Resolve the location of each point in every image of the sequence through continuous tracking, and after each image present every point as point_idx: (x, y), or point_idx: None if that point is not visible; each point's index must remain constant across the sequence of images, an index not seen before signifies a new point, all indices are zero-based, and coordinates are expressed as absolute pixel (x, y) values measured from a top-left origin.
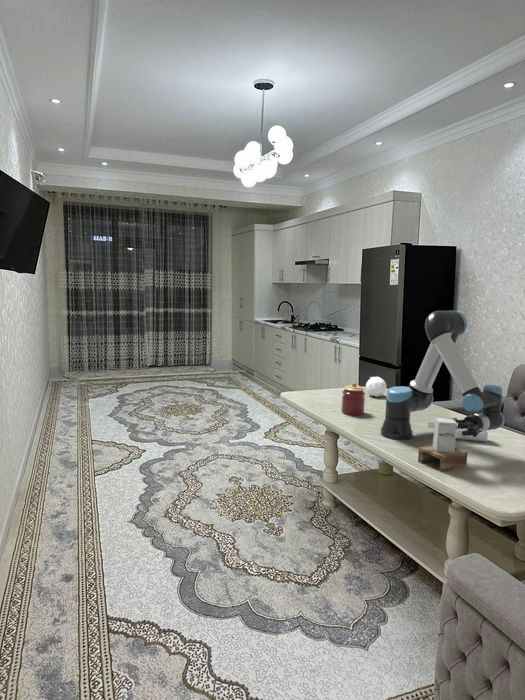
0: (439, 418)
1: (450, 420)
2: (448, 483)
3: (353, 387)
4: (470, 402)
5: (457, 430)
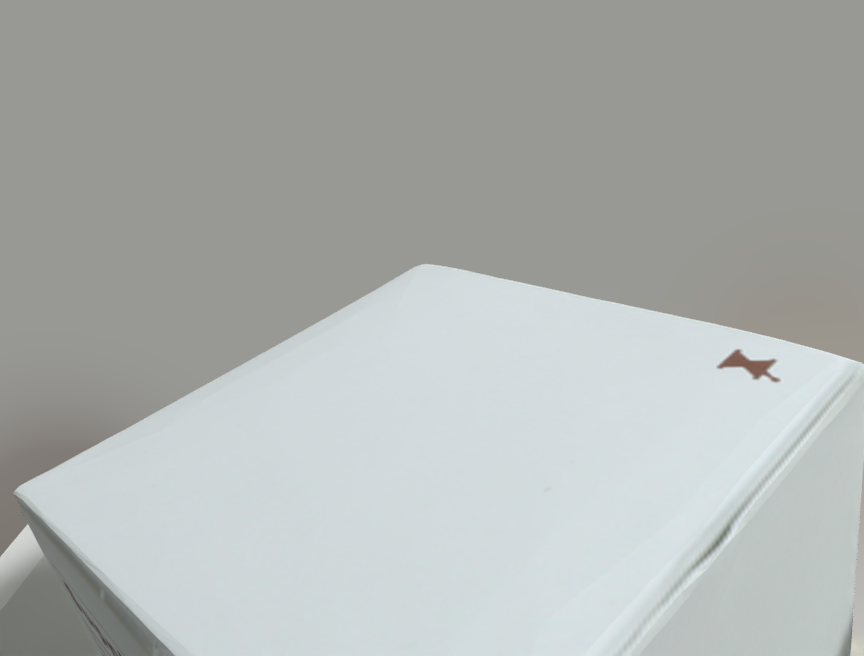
0: (682, 380)
1: (293, 505)
2: None
3: None
4: None
5: (33, 544)
